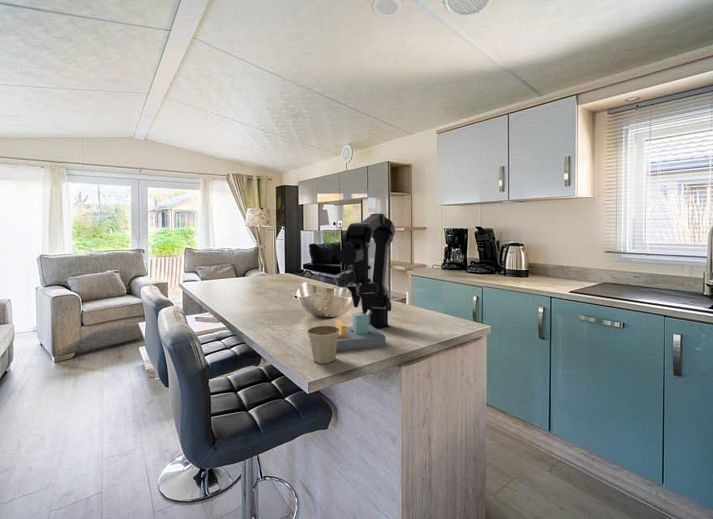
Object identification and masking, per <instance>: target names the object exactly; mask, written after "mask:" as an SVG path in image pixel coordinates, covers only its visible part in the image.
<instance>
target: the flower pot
mask: <svg viewBox="0 0 713 519" xmlns="http://www.w3.org/2000/svg"><path fill="white" fill-rule="evenodd" d="M339 332H340V328H338V327H335V325H316V326H313V327H310V328H308V329H306V334H308V335H307V336H308V338H309V344H310V347H311V354H312V360H313V362H317V364H329V363H331V362H334V361H335V360H336V355H337V351H336V347H337V338H338V336H339Z"/></svg>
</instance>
